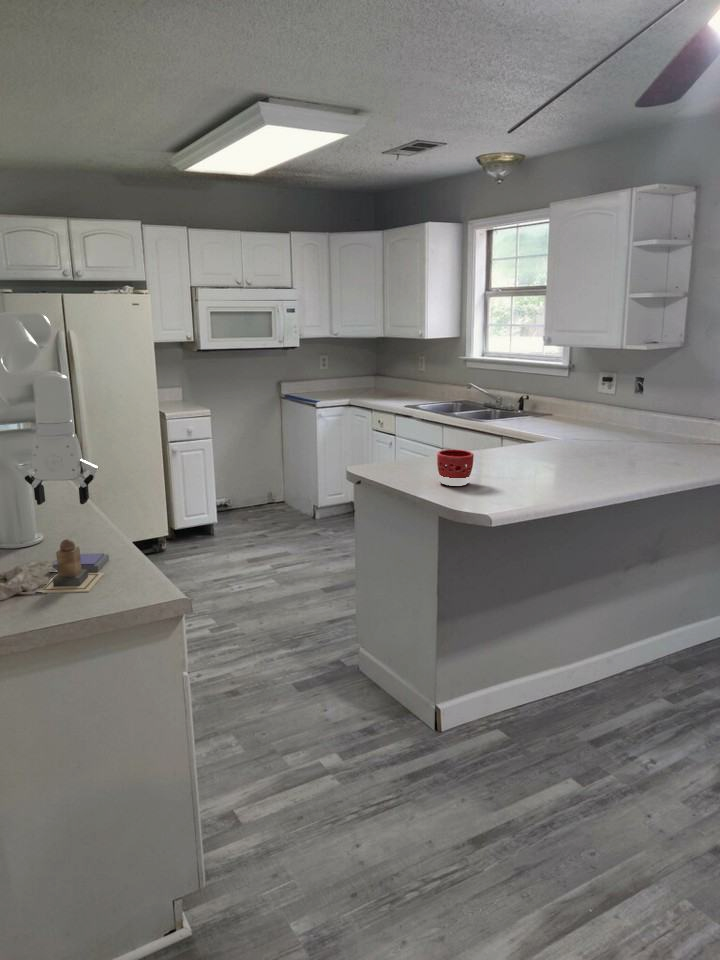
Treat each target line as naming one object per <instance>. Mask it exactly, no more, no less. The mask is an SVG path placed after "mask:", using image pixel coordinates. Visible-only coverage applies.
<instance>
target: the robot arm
mask: <svg viewBox="0 0 720 960" xmlns="http://www.w3.org/2000/svg"><path fill="white" fill-rule="evenodd" d="M52 339H53V328H52V324H51V322H50V320H49V319H48V317H47V316H46V315H44V314H42V313H41V312H36V311H4V312H0V426H8V425H18V424H19V425H20V424H30V427H25V428H24V427H23V428H13V429H3V430H1V429H0V549H7V550H9V549H19V548H26V547H30V546H34V545H37V544H39V543H41V542H42V541H43V540H44V535H43V533H40V532H37V524H36V514H35V506H34V499H35V501H36V505H37V506H40V505H42V504H44V503H45V502H46V494H45V486H44V485H43V484H42V483H43V481H44V482H45V481H48V482H52V481H54V482H55V481H56V482H57V481H62V482H63V481H64V482H65V481H74V480H75V482H77V483H78V484H79V487H78V496H79V497H78V498H79V504H80V505H84V504H86V503H87V502H88V500H89V499H90V495H89V484H90V483H92V481H93V480H94V479H95V478H96V475H97V474H98V471H99V466H97V465H95V464H93V463H91V462H90V461H89V462H88V461H87V460H84V459H83V454H82V448H81V444H80V442H79V438H78V436H77V433H75V432H74V425H73V423H74V422H73V414H72V413H73V412H72V403H71V402H72V400H71V391H70V383H69V379H68V376H66V375H65V374H63V373H61V372H59V371H56V370H40V371H39V370H38V371H37V370H36V371H34V370H33V371H26V370H28V369H30V368H32V367H33V366H34V365H35V364H36V363H38V361H39V359H40V353H41V351H42V350H43V349H46V348H47V347H48V345H49V344H51V341H52ZM23 464H26V465H24V466H22V467H20V466H19V465H23ZM31 469H32V474H31V472H30V470H31ZM85 469H87V470H89V474H88V476H87V477H86V475H85V474H84V472H85ZM32 488H33V489H32ZM33 493H34V495H33ZM33 497H34V498H33Z"/></svg>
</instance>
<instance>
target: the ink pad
mask: <svg viewBox="0 0 720 960" xmlns="http://www.w3.org/2000/svg"><path fill="white" fill-rule="evenodd" d="M109 555H110V554H109V553H103V552H102V553H100V552H99V553H97V552H96V553H80V558H81V568H82V569H87V570H88V573H100V571H101V569H103V567H104V566H105V565H106V564H107V563H108V562H109V560H110V556H109ZM49 566H50V567H53V568H55V569H56V570H57V571H58V567H57V559H55V560H54V561H53V562H52V563H51V564H50V565H49Z"/></svg>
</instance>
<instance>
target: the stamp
mask: <svg viewBox="0 0 720 960" xmlns="http://www.w3.org/2000/svg"><path fill="white" fill-rule="evenodd" d="M75 545H76V544H75V542H74V541H73V539H68V538H66V539H63V540H62V541H61V542H60V546H59V547H60V548H59V549H58V550H56V552H55V554H56V555H55V557H56V560H57V567H58V573H56V574H57V575H56V576H55V577H54V578H53V586H54V587H63V586H80V585H81V584H82V583H83V582H84V581H85V580H86V579H87V578H88V573H89V572H88V570H87V569H82V568H81V558H80V554H81V550H80V546H75Z"/></svg>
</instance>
